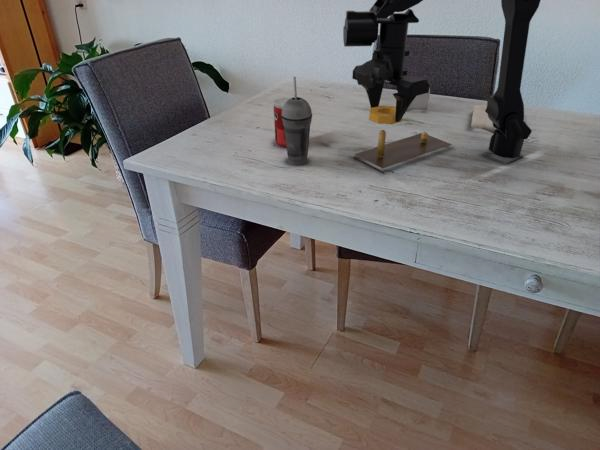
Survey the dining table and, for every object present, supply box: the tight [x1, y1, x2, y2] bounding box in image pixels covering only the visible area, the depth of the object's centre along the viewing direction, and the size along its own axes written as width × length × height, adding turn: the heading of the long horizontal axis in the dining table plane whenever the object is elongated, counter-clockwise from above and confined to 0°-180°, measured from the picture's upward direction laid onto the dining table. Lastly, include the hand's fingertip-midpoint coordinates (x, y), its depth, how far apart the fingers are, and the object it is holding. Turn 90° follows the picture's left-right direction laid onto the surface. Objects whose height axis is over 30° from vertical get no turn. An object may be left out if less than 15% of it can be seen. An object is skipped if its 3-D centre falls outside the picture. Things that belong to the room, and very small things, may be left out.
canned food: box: [273, 97, 292, 149], centre depth 118 cm, size 8×8×11 cm
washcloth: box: [470, 104, 497, 133], centre depth 130 cm, size 12×18×3 cm, turn 159°
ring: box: [368, 105, 403, 125], centre depth 104 cm, size 7×7×2 cm
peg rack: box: [353, 129, 452, 174], centre depth 111 cm, size 10×24×8 cm, turn 125°
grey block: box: [406, 86, 431, 112], centre depth 141 cm, size 8×10×10 cm
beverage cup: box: [281, 76, 313, 166], centre depth 105 cm, size 7×7×20 cm
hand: (385, 117), depth 104 cm, fingers closed on ring, 7 cm apart
